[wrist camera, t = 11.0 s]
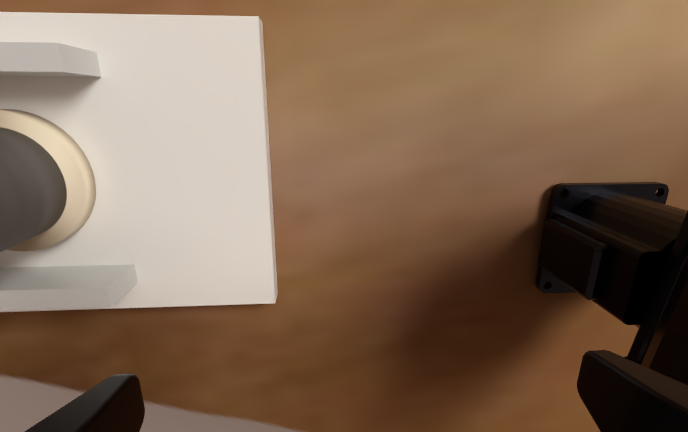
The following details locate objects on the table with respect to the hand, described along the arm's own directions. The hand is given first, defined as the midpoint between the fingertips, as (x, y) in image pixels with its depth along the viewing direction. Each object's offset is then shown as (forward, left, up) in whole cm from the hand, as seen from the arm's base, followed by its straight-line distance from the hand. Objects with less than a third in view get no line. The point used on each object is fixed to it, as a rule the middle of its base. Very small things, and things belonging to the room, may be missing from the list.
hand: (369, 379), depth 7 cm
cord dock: (+12, -2, -13) cm, 18 cm away
